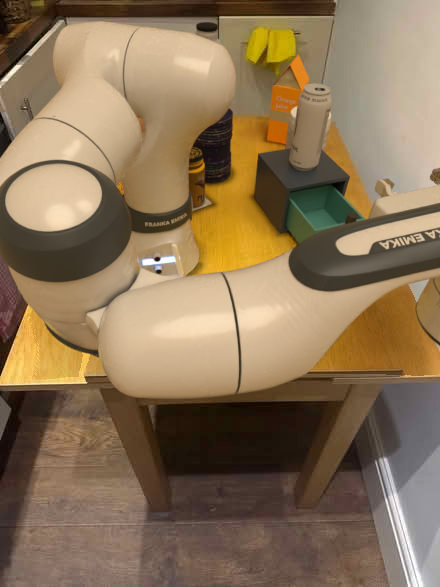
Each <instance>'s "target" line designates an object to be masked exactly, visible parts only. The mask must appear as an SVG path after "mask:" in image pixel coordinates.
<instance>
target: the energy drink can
mask: <svg viewBox="0 0 440 587" xmlns="http://www.w3.org/2000/svg"><path fill="white" fill-rule="evenodd" d="M331 92H332V89H331V87H330V86H329V85H326V84H323V83H316V82H315V83H313V82H311V83H309V84H307V85H305V86H304V90H303V91H302V93H301V94H300V95H299V100H298V106H297V112H296V119H295V125H294V131H293V137H292V144H291V150H290V156H289V161H290V163H291V165H292V167H293V168H295V169H297V170H300V171H310V170H312V169H314V168H315V166H317V165H318V163H319V158H320V154H321V149H322V145H323V140H324V136H325V131H326V126H327V122H328V117H329V113H331V108H332V104H333V97H332V93H331Z"/></svg>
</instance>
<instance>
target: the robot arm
mask: <svg viewBox="0 0 440 587" xmlns="http://www.w3.org/2000/svg"><path fill="white" fill-rule="evenodd" d="M52 67H53V72H54V75H55V78H56V80H57V83H58V85H59V87H60V89H59V90H58V91H57V92H56V93H55V95H54V96H53V97H52V98H51V99H50V100H49V101H48V102H47V103H46V105H45V106H44V107H43V108H42V109H41V110H40V111H39V112H38V113H37V114H36V115H35V116H34V117H33V118H32V119H31V120H30V121H29V122H28V123H27V124H26V125H25V126H24V128H22V130H21V131H19V133H18V134H17V135H16V137H15V138H14V139H13V140H12V142H11V143H10V144H9V145H8V147H7V148H6V150H4V152H3V154H2V155H1V157H0V258H1V259H2V261H3V262H4V263H5V264H6V265H7V267H8V269H9V272H10V275H11V277H12V279H13V281H14V283H15V285H16V287H17V289H18V291H19V293H20V295H21V296H22V298H23V300H24V301H25V303H26V304H27V305H28V306H29V307H30V308H31V310H33V311H34V312H35V313H36V315H37V316H38V317H39V318H40V320H41V321H42V322H43V323H44V326H45V327H46V329H47V331H48V332H49V334H50V335H52V337H53V338H55V339H56V340H57V341H58V342H60V343H61V344H62V345H64V346H66V347H68V348H69V349H72V350H74V351H77V352H80V353H84V354H87V355H91V356H94V357H97V358H99V361H100V364H101V367H102V369H103V371H104V374H105V375H106V377H107V379H108V380H109V382H110V383H111V385H112V386H113V387H114V388H115V389H116V390H117V391H119V392H120V393H122V394H124V395H125V396H128V397H131V398H137V399H150V400H151V399H152V400H192V399H193V400H194V399H207V398H217V397H227V396H234V395H240V394H247V393H253V392H260V391H265V390H268V389H272V388H275V387H279V386H281V385H284V384H286V383H289V382H292V381H294V380H297V379H299V378H301V377H304V376H305V375H306V374H308V373H309V372H310V371H311V370H313V368H315V366H317V364H318V363H320V361H321V360H322V359H323V357H324V356H326V354H327V353H328V351H329V350H330V349H331V347H333V345H334V344H335V343H336V342H337V340H339V338H340V337H341V336H342V335H343V333H345V332H346V330H347V329H348V328H349V327H350V326H351V325H352V324H353V323H354V322H355V320H357V319H358V317H359V316H361V315H362V314H363V313H364V312H365V311H366V310H367V309H368V308H370V306H372V305H373V304H374V303H376V302H377V301H378V300H380V299H381V298H383V297H384V296H385V295H387V294H389V293H391V292H393V291H395V290H397V289H399V288H402V287H403V286H407V285H410V284H415V283H418V282H419V283H420V282H422V281H427V280H428V281H427V283H426V284H425V286H424V288H423V289H422V291H421V293H420V295H419V298H418V300H417V301H416V303H415V315H416V318H417V321H418V323H419V325H420V327H421V328H422V330H423V332H424V333H425V334H426V335H427V337H429V338H430V340H432V341H433V342H434V343H435V344H436V345H438V346H439V347H440V167H436V168H433V169H432V170H431V173H430V175H429V180H430V181H431V182H433V183H434V185H432V186H428V187H423V188H418V189H415V190H410V191H409V190H408V191H406V192H405V191H404V192H401V193H398V191H393V189H394V187H395V183H394V182H393V181H391V179H390V178H382V179H378V180H377V181H376V183H375V187H374V192H375V193H376V194H378V195H379V196H380V197H378V198H376V199H375V200H374V201H373V204H372V206H371V209H370V211H369V215H368V218H365V220H361V221H357V222H353V223H348V224H344V225H341V226H337V227H333V228H330V229H327V230H324V231H321V232H318V233H316V234H314V235H312V236H310V237H308V238H307V239H305V240H304V241H302V242H301V243H300V244H299V243H297V245H295V246H294V247H293V248H291V249H289V250H287V251H286V252H283V253H282V254H279V255H277V256H275V257H272V258H270V259H267V260H264V261H262V262H259V263H256V264H253V265H249V266H246V267H242V268H238V269H237V268H236V269H233V270H225V271H216V272H215V271H214V272H208V273H206V272H205V273H198V274H193V275H189V274H190V273H191V272H192V271H194V270H195V268H196V267H197V265H198V263H199V261H200V256H201V253H200V249H199V247H198V245H197V241H196V238H195V234H194V230H193V224H192V221H193V213H194V210H193V203H192V196H191V192H190V191H189V157H190V152H191V149H192V146H193V144H194V142H195V140H196V139H197V138H198V136H199V135H200V134H201V133H202V132H203V131H204V130H205V129H207V128H208V127H209V126H211V125H213V124H215V123H216V122H217V121H219V120H220V119H221V118H222V117H223V116H224V115H225V113H226V112H227V110H228V109H229V108H230V107H231V106H232V103H233V100H234V97H235V94H236V89H237V88H236V87H237V76H236V68H235V65H234V61H233V59H232V57H231V55H230V52H229V51H228V49H227V48H226V46H225V45H223V44H222V43H221V44H218V43H216V42H214V41H211V40H209V39H206V38H204V37H201V36H198V35H196V33H193V32H188V31H181V30H172V29H166V28H159V27H151V26H140V25H133V24H124V23H117V22H112V21H111V22H110V21H103V20H96V21H95V20H94V21H86V22H80V23H79V22H78V23H72V24H68V25H65V27H63V28H62V29H61V30H60V31H59V33H58V35H57V37H56V39H55V42H54V45H53V50H52ZM137 118H142V119H143V121H144V124H145V132H141V127H140V124H139V121H138V119H137ZM120 184H121V187H122V192H121V190H120V189H119V187H118V186H119V185H120Z"/></svg>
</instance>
